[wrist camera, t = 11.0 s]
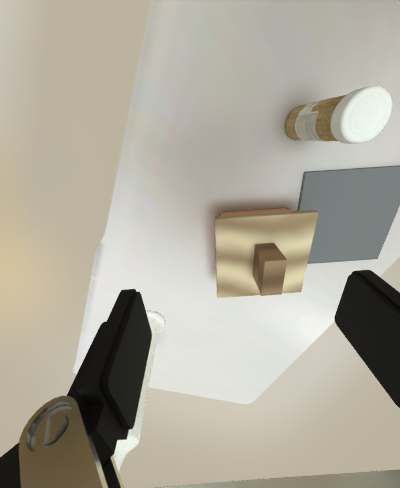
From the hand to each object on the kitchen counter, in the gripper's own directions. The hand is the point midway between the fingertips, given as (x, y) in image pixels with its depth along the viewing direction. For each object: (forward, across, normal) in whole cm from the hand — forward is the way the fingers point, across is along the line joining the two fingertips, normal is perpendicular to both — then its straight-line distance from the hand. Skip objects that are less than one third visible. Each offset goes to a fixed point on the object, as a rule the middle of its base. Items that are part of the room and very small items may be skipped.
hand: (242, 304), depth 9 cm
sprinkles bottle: (+28, -14, -7) cm, 32 cm away
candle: (+27, +16, +31) cm, 45 cm away
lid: (+22, -8, +12) cm, 26 cm away
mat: (+28, -25, +9) cm, 38 cm away
